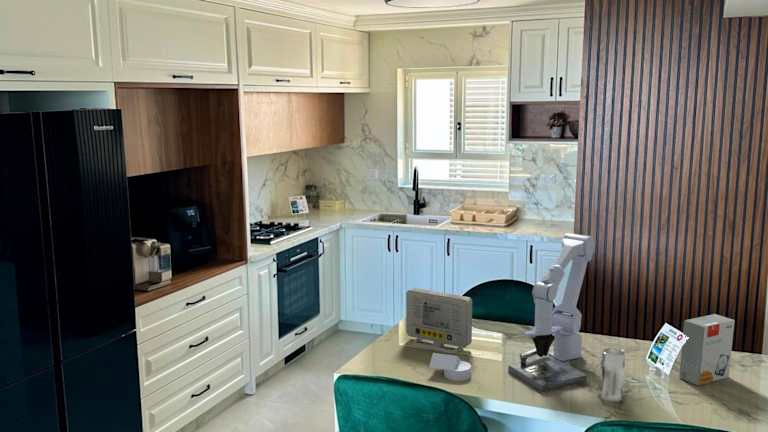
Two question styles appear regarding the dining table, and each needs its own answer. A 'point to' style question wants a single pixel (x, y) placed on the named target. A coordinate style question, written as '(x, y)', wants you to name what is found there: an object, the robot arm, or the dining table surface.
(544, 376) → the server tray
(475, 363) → the dining table surface
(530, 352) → the grey ball-ended handle
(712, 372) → the hard drive box
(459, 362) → the wedge on round base
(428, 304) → the network device
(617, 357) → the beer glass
